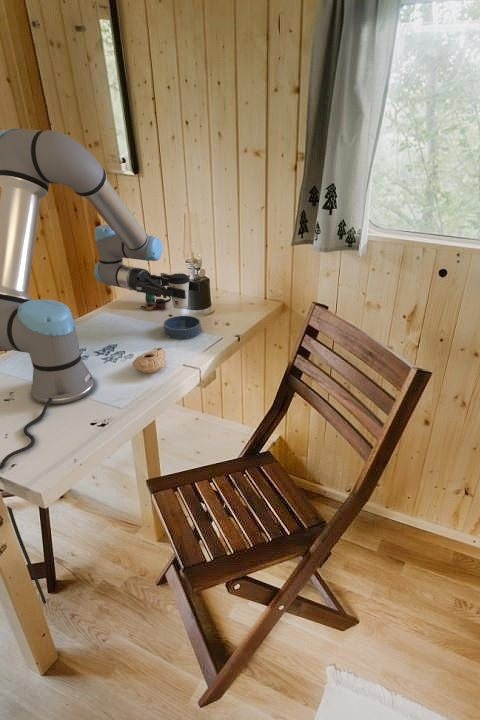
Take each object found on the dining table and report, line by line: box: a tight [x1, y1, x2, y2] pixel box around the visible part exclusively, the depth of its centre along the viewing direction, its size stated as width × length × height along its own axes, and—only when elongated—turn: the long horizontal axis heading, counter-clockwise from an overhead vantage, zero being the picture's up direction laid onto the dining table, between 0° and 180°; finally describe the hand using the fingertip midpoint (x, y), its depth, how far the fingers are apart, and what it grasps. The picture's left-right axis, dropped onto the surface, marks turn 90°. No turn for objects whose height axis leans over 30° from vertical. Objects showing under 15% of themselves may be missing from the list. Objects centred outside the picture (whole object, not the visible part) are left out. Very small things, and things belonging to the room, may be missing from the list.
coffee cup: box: [167, 272, 191, 310], centre depth 149 cm, size 7×7×10 cm
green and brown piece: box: [144, 292, 172, 311], centre depth 174 cm, size 9×11×10 cm
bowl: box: [163, 315, 202, 340], centre depth 156 cm, size 12×12×4 cm
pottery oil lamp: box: [131, 346, 166, 375], centre depth 134 cm, size 9×12×7 cm
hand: (192, 290), depth 147 cm, fingers closed on coffee cup, 7 cm apart
